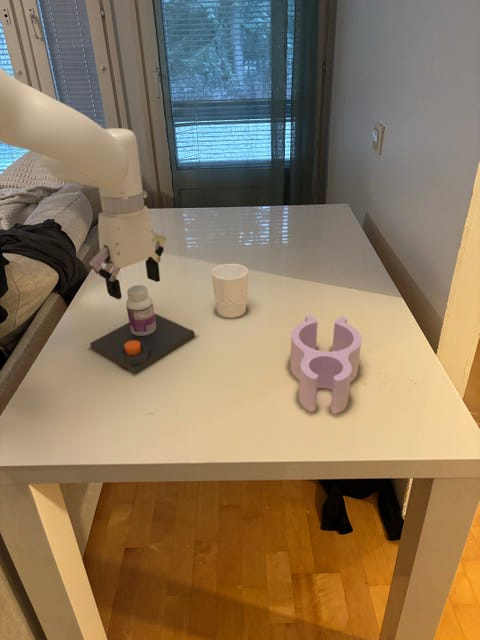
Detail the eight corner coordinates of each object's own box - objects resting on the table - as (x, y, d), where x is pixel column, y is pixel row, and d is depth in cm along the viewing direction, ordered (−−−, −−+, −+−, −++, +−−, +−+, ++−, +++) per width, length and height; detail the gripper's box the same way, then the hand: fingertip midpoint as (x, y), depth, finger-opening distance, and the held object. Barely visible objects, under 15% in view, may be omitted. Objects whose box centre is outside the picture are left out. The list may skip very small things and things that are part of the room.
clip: (361, 416, 76) (366, 382, 72) (285, 409, 78) (286, 376, 74) (355, 347, 93) (359, 317, 89) (292, 343, 95) (293, 313, 91)
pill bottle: (129, 325, 100) (122, 285, 95) (154, 321, 101) (149, 281, 96) (131, 339, 95) (124, 297, 90) (157, 334, 96) (152, 293, 91)
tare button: (132, 357, 87) (131, 350, 87) (122, 352, 89) (120, 345, 88) (144, 350, 89) (143, 343, 89) (134, 345, 91) (133, 338, 90)
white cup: (248, 319, 103) (247, 278, 98) (213, 319, 103) (210, 279, 98) (248, 302, 110) (248, 263, 105) (215, 302, 110) (213, 263, 105)
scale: (133, 375, 87) (131, 362, 85) (89, 349, 95) (86, 337, 93) (195, 337, 98) (193, 324, 96) (150, 316, 105) (149, 305, 104)
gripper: (146, 189, 92) (155, 269, 100) (69, 210, 80) (87, 298, 89) (172, 195, 88) (179, 278, 96) (94, 218, 76) (111, 310, 85)
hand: (135, 288), depth 92 cm, fingers open, 9 cm apart
